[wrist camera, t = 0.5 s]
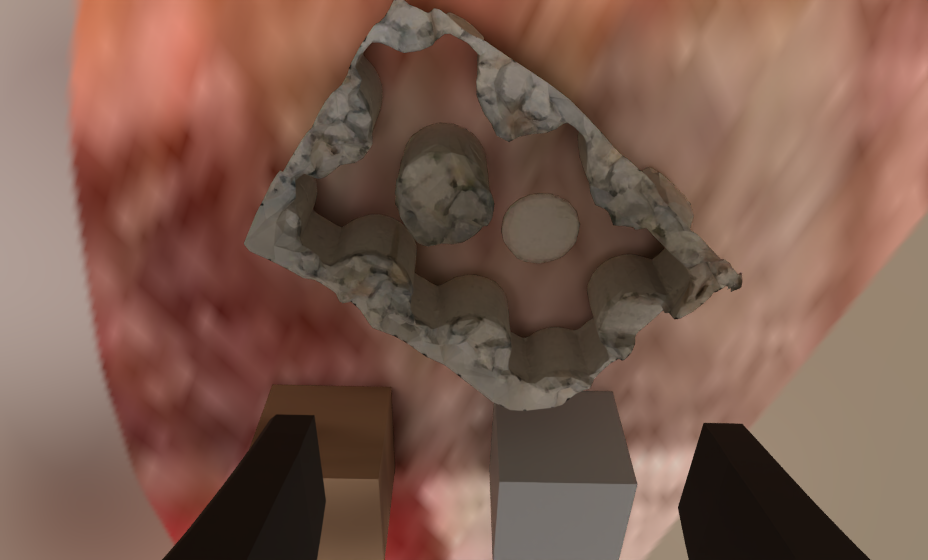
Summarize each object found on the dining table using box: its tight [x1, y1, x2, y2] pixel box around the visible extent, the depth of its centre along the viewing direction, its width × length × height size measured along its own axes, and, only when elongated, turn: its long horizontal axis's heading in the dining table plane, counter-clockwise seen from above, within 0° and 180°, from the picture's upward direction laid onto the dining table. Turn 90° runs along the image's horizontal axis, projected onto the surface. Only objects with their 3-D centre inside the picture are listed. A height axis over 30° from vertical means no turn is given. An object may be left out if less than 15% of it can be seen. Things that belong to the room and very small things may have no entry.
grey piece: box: [244, 0, 742, 411], centre depth 17 cm, size 11×8×4 cm
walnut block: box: [250, 385, 395, 560], centre depth 22 cm, size 4×4×4 cm
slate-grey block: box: [489, 391, 637, 560], centre depth 22 cm, size 4×4×4 cm
